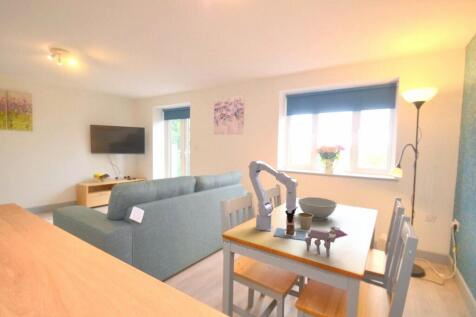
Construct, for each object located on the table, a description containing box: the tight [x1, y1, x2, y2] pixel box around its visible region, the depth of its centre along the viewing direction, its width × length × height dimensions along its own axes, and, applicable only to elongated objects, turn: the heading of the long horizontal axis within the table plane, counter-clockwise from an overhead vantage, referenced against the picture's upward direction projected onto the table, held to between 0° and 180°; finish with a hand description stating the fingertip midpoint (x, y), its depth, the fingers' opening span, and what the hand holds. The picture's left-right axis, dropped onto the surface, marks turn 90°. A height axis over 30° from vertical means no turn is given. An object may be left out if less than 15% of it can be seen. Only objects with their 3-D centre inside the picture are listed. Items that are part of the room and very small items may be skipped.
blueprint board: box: [273, 227, 307, 242], centre depth 141 cm, size 18×13×1 cm
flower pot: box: [297, 212, 313, 230], centre depth 151 cm, size 9×9×9 cm
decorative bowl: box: [297, 196, 338, 221], centre depth 172 cm, size 27×27×12 cm
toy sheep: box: [304, 225, 348, 257], centre depth 118 cm, size 20×11×14 cm, turn 59°
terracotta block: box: [285, 214, 296, 226], centre depth 140 cm, size 4×4×5 cm
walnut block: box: [285, 224, 296, 235], centre depth 141 cm, size 4×4×5 cm
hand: (290, 221), depth 140 cm, fingers closed on terracotta block, 4 cm apart
